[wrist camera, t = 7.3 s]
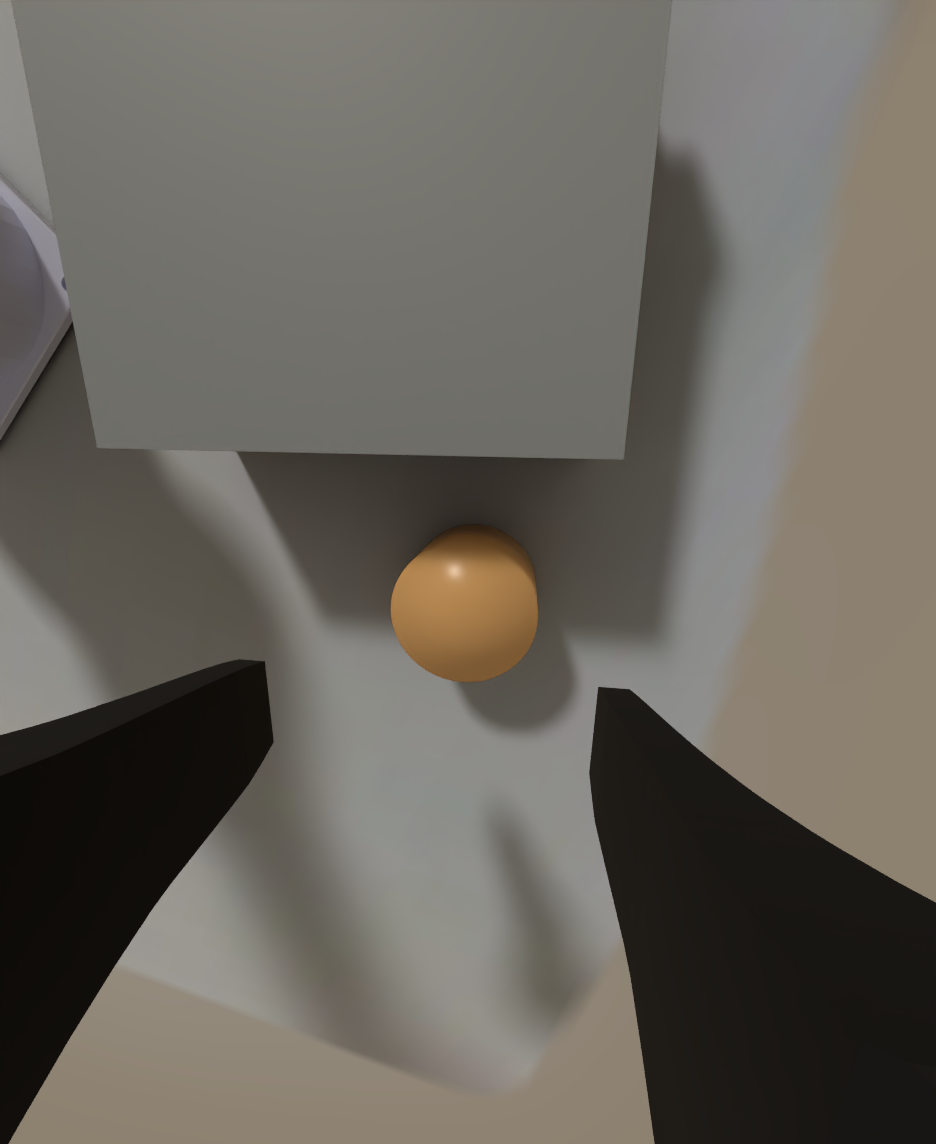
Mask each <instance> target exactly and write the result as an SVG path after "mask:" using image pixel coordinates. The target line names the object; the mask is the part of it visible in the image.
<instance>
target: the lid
mask: <svg viewBox="0 0 936 1144" xmlns="http://www.w3.org/2000/svg"><path fill="white" fill-rule="evenodd" d="M11 2H12V7H13V13H14V18H15V23H16V28H17V33H18V39H19V44H20V49H21V54H22V59H23V65H24V70H25V75H26V80H27V86H28V91H29V96H30V101H31V106H32V112H33V117H34V122H35V127H36V132H37V138H38V143H39V148H40V153H41V158H42V164H43V169H44V174H45V179H46V185H47V190H48V195H49V200H50V205H51V211H52V216H53V221H54V226H55V231H56V237H57V242H58V247H59V252H60V257H61V263H62V268H63V273H64V278H65V284H66V289H67V294H68V299H69V304H70V310H71V315H72V320H73V325H74V330H75V336H76V341H77V346H78V351H79V356H80V362H81V367H82V372H83V377H84V382H85V388H86V393H87V398H88V403H89V409H90V414H91V419H92V424H93V429H94V435H95V440H96V445H97V448H109V449H155V450H201V451H247V452H293V453H339V454H385V455H431V456H477V457H523V458H569V459H615V460H624V452H625V442H626V433H627V423H628V414H629V405H630V395H631V386H632V376H633V367H634V357H635V348H636V338H637V329H638V319H639V310H640V300H641V291H642V281H643V272H644V262H645V253H646V243H647V234H648V224H649V215H650V205H651V196H652V186H653V177H654V167H655V158H656V148H657V139H658V129H659V120H660V111H661V101H662V92H663V82H664V73H665V63H666V54H667V44H668V35H669V25H670V16H671V6H672V0H11Z"/></svg>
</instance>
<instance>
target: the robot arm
mask: <svg viewBox="0 0 936 1144" xmlns="http://www.w3.org/2000/svg"><path fill="white" fill-rule="evenodd" d="M72 322H73V320H72V315H71V310H70V304H69V299H68V294H67V289H66V284H65V278H64V273H63V268H62V263H61V257H60V252H59V247H58V242H57V237H56V231H55V229H54V228H53V227H52V226H51V225H50V224H49V223H48V222H47V221H46V220H45V219H44V218H43V217H42V216H41V215H40V214H39V213H38V212H37V211H36V210H35V209H34V208H33V207H32V206H31V205H30V204H29V203H28V202H27V201H26V200H25V199H24V198H23V197H22V196H21V195H20V194H19V193H18V192H17V191H16V190H15V189H14V188H13V187H12V186H11V185H10V184H9V182H8V181H7V180H6V179H5V178H4V177H3V176H2V175H1V174H0V440H1V438H2V437H3V435H4V433H5V432H6V430H7V429H8V427H9V425H10V424H11V422H12V420H13V419H14V417H15V415H16V414H17V412H18V410H19V409H20V407H21V405H22V404H23V402H24V401H25V399H26V397H27V396H28V394H29V392H30V391H31V389H32V387H33V386H34V384H35V382H36V381H37V379H38V378H39V376H40V374H41V373H42V371H43V369H44V368H45V366H46V364H47V363H48V361H49V359H50V358H51V356H52V355H53V353H54V351H55V350H56V348H57V346H58V345H59V343H60V341H61V340H62V338H63V336H64V335H65V333H66V332H67V330H68V328H69V327H70V325H71V323H72ZM273 742H274V741H273V732H272V723H271V714H270V705H269V696H268V687H267V678H266V669H265V661H253V660H240V659H239V660H234V661H230V662H226V663H222V664H219V665H215V666H212V667H209V668H206V669H203V670H200V671H197V672H194V673H191V674H188V675H185V676H183V677H180V678H177V679H174V680H171V681H169V682H166V683H163V684H160V685H157V686H155V687H152V688H149V689H146V690H143V691H141V692H138V693H135V694H132V695H129V696H126V697H123V698H120V699H117V700H114V701H111V702H108V703H105V704H102V705H99V706H96V707H93V708H90V709H87V710H84V711H81V712H78V713H75V714H72V715H69V716H66V717H63V718H60V719H56V720H53V721H50V722H46V723H43V724H39V725H36V726H33V727H29V728H26V729H22V730H18V731H14V732H11V733H7V734H3V735H0V1144H8V1143H9V1141H10V1140H11V1138H12V1136H13V1134H14V1133H15V1131H16V1129H17V1127H18V1126H19V1124H20V1122H21V1121H22V1119H23V1117H24V1115H25V1114H26V1112H27V1110H28V1109H29V1107H30V1105H31V1103H32V1102H33V1100H34V1098H35V1097H36V1095H37V1093H38V1092H39V1090H40V1088H41V1086H42V1085H43V1083H44V1081H45V1080H46V1078H47V1076H48V1074H49V1073H50V1071H51V1069H52V1067H53V1066H54V1064H55V1063H56V1061H57V1059H58V1057H59V1055H60V1054H61V1052H62V1051H63V1049H64V1047H65V1045H66V1044H67V1042H68V1040H69V1039H70V1037H71V1035H72V1034H73V1032H74V1031H75V1029H76V1027H77V1026H78V1024H79V1023H80V1021H81V1019H82V1018H83V1016H84V1014H85V1013H86V1011H87V1010H88V1008H89V1006H90V1005H91V1003H92V1002H93V1000H94V998H95V997H96V995H97V993H98V992H99V990H100V989H101V987H102V986H103V984H104V982H105V981H106V979H107V977H108V976H109V974H110V973H111V971H112V969H113V968H114V966H115V965H116V963H117V962H118V960H119V959H120V957H121V956H122V954H123V953H124V951H125V950H126V948H127V947H128V945H129V944H130V942H131V941H132V939H133V937H134V936H135V934H136V933H137V931H138V930H139V928H140V927H141V925H142V924H143V922H144V921H145V919H146V918H147V916H148V915H149V913H150V912H151V910H152V909H153V907H154V906H155V905H156V903H157V902H158V901H159V899H160V898H161V896H162V895H163V894H164V892H165V891H166V890H167V888H168V887H169V886H170V884H171V883H172V882H173V880H174V879H175V878H176V876H177V875H178V874H179V873H180V871H181V870H182V869H183V868H184V866H185V865H186V864H187V863H188V861H189V860H190V859H191V857H192V856H193V855H194V854H195V852H196V851H197V850H198V849H199V847H200V846H201V845H202V844H203V842H204V841H205V840H206V838H207V837H208V836H209V835H210V833H211V832H212V831H213V830H214V828H215V827H216V826H217V825H218V823H219V822H220V821H221V819H222V818H223V817H224V816H225V814H226V813H227V812H228V810H229V809H230V808H231V807H232V805H233V804H234V803H235V801H236V800H237V799H238V798H239V796H240V795H241V794H242V792H243V791H244V790H245V788H246V787H247V786H248V784H249V783H250V781H251V780H252V778H253V776H254V775H255V773H256V772H257V770H258V768H259V767H260V765H261V763H262V762H263V760H264V758H265V756H266V755H267V753H268V751H269V749H270V747H271V746H272V744H273ZM589 774H590V783H591V793H592V802H593V810H594V818H595V824H596V828H597V833H598V837H599V841H600V845H601V850H602V854H603V858H604V863H605V867H606V871H607V875H608V879H609V884H610V888H611V892H612V896H613V900H614V904H615V909H616V913H617V917H618V921H619V925H620V930H621V934H622V938H623V942H624V947H625V952H626V956H627V962H628V966H629V972H630V977H631V983H632V989H633V995H634V1002H635V1009H636V1016H637V1023H638V1029H639V1036H640V1043H641V1049H642V1056H643V1063H644V1070H645V1077H646V1084H647V1091H648V1099H649V1106H650V1113H651V1120H652V1128H653V1135H654V1142H655V1144H936V903H935V902H933V901H931V900H930V899H928V898H926V897H924V896H922V895H921V894H919V893H917V892H915V891H913V890H911V889H909V888H907V887H906V886H904V885H902V884H900V883H898V882H897V881H894V880H893V879H891V878H889V877H888V876H886V875H884V874H883V873H881V872H879V871H877V870H876V869H874V868H872V867H870V866H869V865H867V864H865V863H864V862H862V861H860V860H858V859H857V858H855V857H853V856H852V855H850V854H848V853H846V852H845V851H843V850H841V849H839V848H838V847H836V846H834V845H833V844H831V843H829V842H828V841H826V840H825V839H823V838H821V837H820V836H818V835H817V834H815V833H813V832H811V831H810V830H809V829H807V828H806V827H804V826H803V825H801V824H800V823H798V822H797V821H795V820H793V819H792V818H791V817H789V816H788V815H786V814H785V813H783V812H781V811H780V810H779V809H777V808H775V807H774V806H773V805H771V804H769V803H768V802H767V801H765V800H764V799H762V798H761V797H759V796H758V795H757V794H755V793H754V792H752V791H751V790H750V789H748V788H747V787H746V786H744V785H743V784H742V783H740V782H739V781H738V780H736V779H735V778H734V777H732V776H731V775H730V774H728V773H727V772H726V771H725V770H723V769H722V768H721V767H719V766H718V765H717V764H715V763H714V762H713V761H712V760H711V759H709V758H708V757H707V756H706V755H704V754H703V753H702V752H701V751H700V750H698V749H697V748H696V747H695V746H694V745H692V744H691V743H690V742H689V741H688V740H687V739H685V738H684V737H683V736H682V735H681V734H680V733H678V732H677V731H676V730H675V729H674V728H673V727H672V726H670V725H669V724H668V723H667V722H666V721H665V720H664V719H663V718H662V717H660V716H659V715H658V714H657V713H656V712H655V711H654V710H653V709H652V708H650V707H649V706H648V705H647V704H646V703H645V702H644V701H643V700H642V699H640V698H639V697H638V696H637V695H636V694H635V693H633V692H632V691H631V690H630V689H618V688H605V687H598V695H597V704H596V714H595V724H594V733H593V743H592V752H591V762H590V771H589Z"/></svg>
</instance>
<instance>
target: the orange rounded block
mask: <svg viewBox="0 0 936 1144" xmlns="http://www.w3.org/2000/svg"><path fill="white" fill-rule="evenodd" d="M391 618H392V623H393V628H394V631H395V633H396V636H397V638H398V640H399V642H400V644H401V646H402V647H403V648H404V650H405V651H406V653H407V654H408V655H409V656H410V657H411V658H412V659H413V660H414V661H415V662H416V663H417V664H418V665H420V666H421V667H422V668H424V669H425V670H427V671H429V672H431V673H432V674H434V675H437V676H439V677H442V678H444V679H448V680H452V681H459V682H477V681H483V680H488V679H491V678H494V677H496V676H499V675H501V674H503V673H505V672H506V671H508V670H509V669H511V668H512V667H514V666H515V665H516V664H517V663H518V662H519V661H520V660H521V659H522V658H523V656H524V655H525V654H526V653H527V651H528V649H529V648H530V646H531V644H532V642H533V639H534V637H535V633H536V630H537V624H538V604H537V588H536V577H535V572H534V568H533V565H532V563H531V561H530V558H529V557H528V555H527V553H526V552H525V550H524V549H523V548H522V547H521V546H520V544H518V543H517V542H516V541H515V540H514V539H513V538H512V537H510V536H509V535H507V534H506V533H504V532H502V531H500V530H497V529H495V528H492V527H488V526H484V525H463V526H458V527H455V528H451V529H449V530H447V531H445V532H443V533H441V534H440V535H438V536H437V537H436V538H434V539H433V540H432V541H431V542H430V543H429V544H428V545H427V546H426V547H425V548H424V549H423V550H422V551H421V552H420V553H419V554H418V555H417V556H416V557H415V558H414V559H413V560H412V561H411V562H410V563H409V564H408V566H407V567H406V568H405V569H404V570H403V572H402V573H401V575H400V576H399V578H398V580H397V582H396V584H395V588H394V591H393V594H392V600H391Z"/></svg>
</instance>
